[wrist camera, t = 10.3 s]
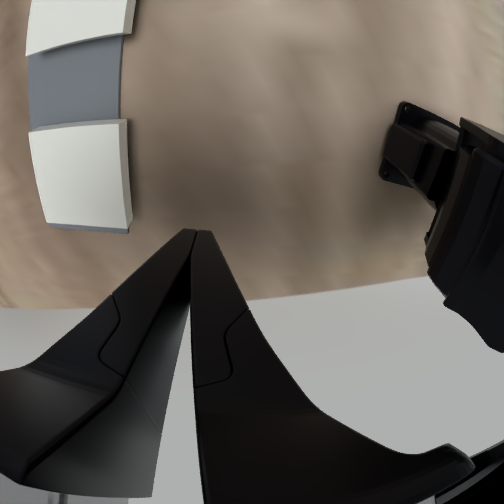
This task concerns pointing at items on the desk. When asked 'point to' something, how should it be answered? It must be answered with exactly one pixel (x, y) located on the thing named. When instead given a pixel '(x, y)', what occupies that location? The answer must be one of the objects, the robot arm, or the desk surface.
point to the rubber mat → (76, 89)
